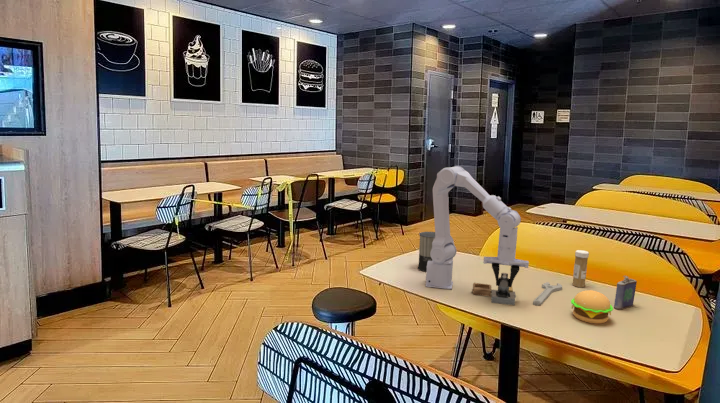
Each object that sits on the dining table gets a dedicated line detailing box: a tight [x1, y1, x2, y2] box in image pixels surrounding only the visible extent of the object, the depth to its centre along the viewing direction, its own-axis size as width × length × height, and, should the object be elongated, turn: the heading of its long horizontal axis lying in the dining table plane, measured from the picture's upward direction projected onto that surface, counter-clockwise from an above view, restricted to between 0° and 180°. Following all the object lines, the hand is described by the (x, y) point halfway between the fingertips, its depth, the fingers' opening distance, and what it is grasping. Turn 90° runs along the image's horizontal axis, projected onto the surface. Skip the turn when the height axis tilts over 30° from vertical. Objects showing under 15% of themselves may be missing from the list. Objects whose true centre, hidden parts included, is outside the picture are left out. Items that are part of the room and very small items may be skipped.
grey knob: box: [497, 272, 510, 295], centre depth 165 cm, size 4×4×7 cm
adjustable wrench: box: [532, 281, 563, 307], centre depth 172 cm, size 25×6×2 cm, turn 140°
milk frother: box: [417, 231, 435, 273], centre depth 200 cm, size 14×16×15 cm
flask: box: [613, 275, 638, 311], centre depth 162 cm, size 9×3×11 cm, turn 121°
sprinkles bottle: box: [571, 249, 590, 288], centre depth 182 cm, size 5×5×14 cm
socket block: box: [490, 289, 517, 306], centre depth 167 cm, size 8×11×2 cm
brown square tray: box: [472, 282, 492, 297], centre depth 172 cm, size 6×6×2 cm
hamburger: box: [570, 289, 614, 324], centre depth 152 cm, size 12×12×9 cm
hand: (503, 285), depth 165 cm, fingers closed on grey knob, 4 cm apart
